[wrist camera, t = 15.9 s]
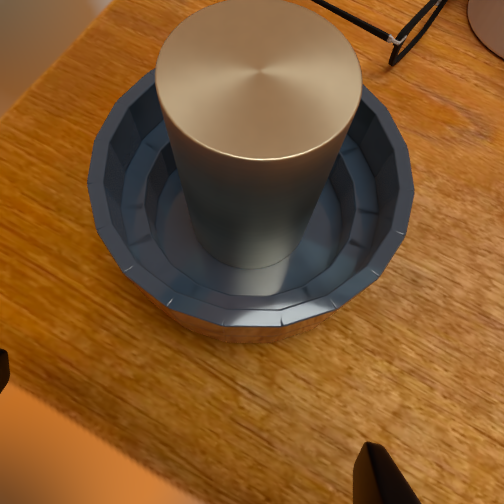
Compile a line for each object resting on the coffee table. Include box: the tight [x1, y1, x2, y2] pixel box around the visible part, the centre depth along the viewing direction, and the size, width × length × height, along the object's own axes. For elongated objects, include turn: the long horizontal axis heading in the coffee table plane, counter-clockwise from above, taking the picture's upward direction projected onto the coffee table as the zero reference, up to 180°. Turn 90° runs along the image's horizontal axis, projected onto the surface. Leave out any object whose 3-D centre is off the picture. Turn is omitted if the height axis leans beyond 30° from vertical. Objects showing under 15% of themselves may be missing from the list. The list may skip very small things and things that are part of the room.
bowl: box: [87, 68, 414, 343], centre depth 17 cm, size 12×12×6 cm
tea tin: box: [155, 0, 363, 269], centre depth 15 cm, size 6×6×9 cm
